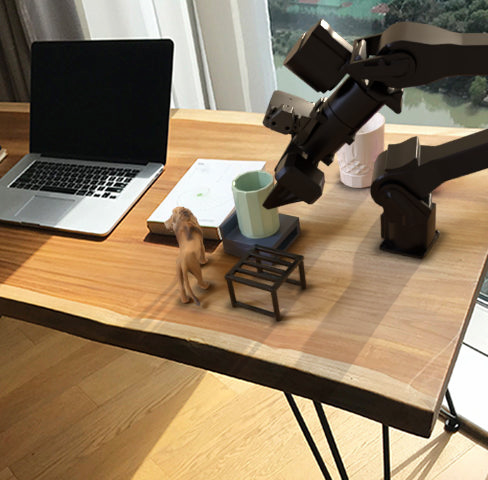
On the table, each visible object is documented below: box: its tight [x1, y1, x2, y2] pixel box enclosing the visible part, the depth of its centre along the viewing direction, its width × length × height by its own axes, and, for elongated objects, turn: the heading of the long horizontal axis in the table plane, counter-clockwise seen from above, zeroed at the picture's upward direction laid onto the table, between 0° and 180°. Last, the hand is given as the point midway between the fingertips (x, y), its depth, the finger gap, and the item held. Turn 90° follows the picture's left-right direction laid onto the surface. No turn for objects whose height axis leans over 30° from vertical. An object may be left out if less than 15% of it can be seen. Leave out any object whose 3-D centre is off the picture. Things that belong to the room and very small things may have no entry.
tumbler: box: [231, 169, 280, 239], centre depth 100 cm, size 6×6×8 cm
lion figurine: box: [164, 206, 210, 307], centre depth 98 cm, size 15×5×9 cm, turn 6°
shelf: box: [218, 209, 302, 266], centre depth 102 cm, size 9×9×5 cm
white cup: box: [336, 111, 386, 189], centre depth 109 cm, size 8×8×10 cm
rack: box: [224, 244, 308, 322], centre depth 92 cm, size 8×8×6 cm
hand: (270, 189), depth 97 cm, fingers open, 9 cm apart
